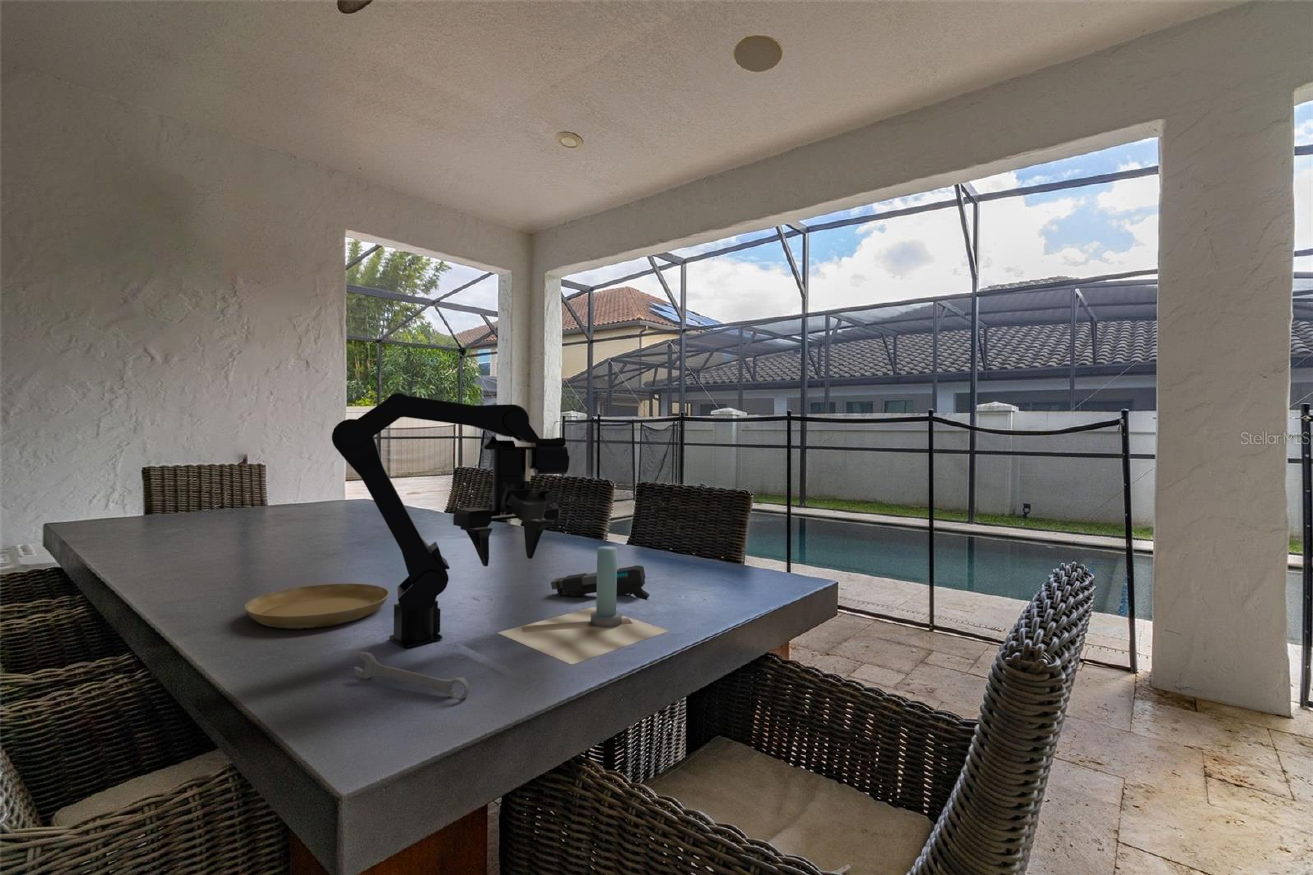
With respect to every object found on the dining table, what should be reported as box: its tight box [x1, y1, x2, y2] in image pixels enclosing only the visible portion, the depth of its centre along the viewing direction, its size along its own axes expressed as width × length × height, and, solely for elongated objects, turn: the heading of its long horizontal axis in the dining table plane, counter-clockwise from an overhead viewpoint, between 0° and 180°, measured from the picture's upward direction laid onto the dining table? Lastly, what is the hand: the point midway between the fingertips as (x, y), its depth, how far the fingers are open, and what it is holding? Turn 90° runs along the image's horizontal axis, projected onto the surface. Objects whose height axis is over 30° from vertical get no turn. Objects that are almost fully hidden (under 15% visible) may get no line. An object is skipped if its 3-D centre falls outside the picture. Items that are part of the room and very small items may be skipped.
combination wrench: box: [353, 651, 471, 701], centre depth 84 cm, size 4×1×20 cm
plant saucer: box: [244, 582, 390, 630], centre depth 116 cm, size 24×24×3 cm
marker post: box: [591, 545, 623, 628], centre depth 110 cm, size 6×6×14 cm
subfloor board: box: [497, 606, 671, 666], centre depth 105 cm, size 22×20×1 cm
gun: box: [550, 565, 650, 601], centre depth 130 cm, size 4×20×10 cm, turn 80°
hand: (508, 562), depth 108 cm, fingers open, 9 cm apart
